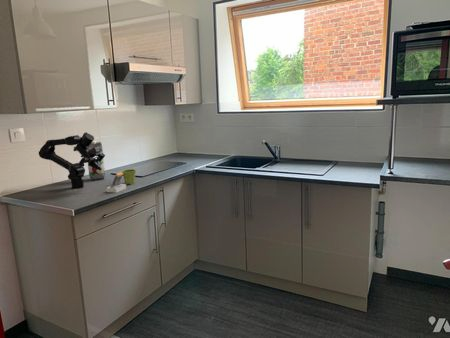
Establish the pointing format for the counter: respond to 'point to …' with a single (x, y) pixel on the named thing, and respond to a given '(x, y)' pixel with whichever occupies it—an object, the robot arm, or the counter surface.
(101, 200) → the counter surface
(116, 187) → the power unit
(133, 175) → the plant pot
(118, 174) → the rocker lever
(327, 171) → the counter surface
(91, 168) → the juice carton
